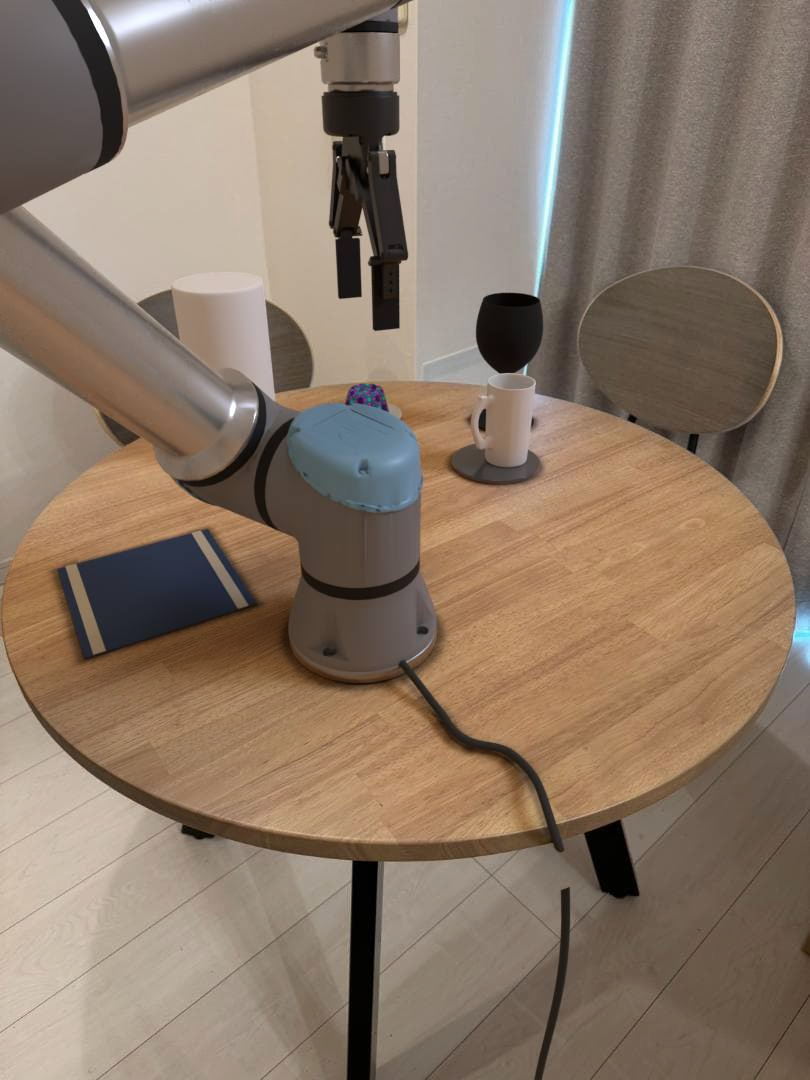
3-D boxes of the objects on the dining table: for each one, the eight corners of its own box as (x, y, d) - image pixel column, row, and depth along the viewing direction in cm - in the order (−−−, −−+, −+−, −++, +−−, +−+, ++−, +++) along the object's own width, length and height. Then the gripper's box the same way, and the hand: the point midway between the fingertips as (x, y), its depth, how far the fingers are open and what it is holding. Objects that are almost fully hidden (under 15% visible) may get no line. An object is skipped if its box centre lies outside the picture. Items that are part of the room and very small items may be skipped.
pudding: (392, 436, 118) (392, 405, 115) (321, 429, 121) (319, 398, 118) (409, 408, 128) (409, 379, 125) (343, 402, 130) (342, 373, 128)
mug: (509, 445, 114) (516, 370, 107) (537, 461, 109) (546, 384, 102) (455, 460, 109) (458, 382, 103) (482, 478, 105) (487, 398, 98)
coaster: (555, 476, 106) (556, 472, 106) (473, 490, 103) (473, 486, 102) (514, 440, 117) (515, 436, 116) (438, 452, 113) (438, 449, 113)
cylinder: (211, 471, 108) (183, 297, 94) (189, 440, 117) (161, 277, 104) (291, 453, 113) (275, 285, 99) (264, 425, 122) (246, 267, 109)
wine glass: (466, 430, 120) (472, 306, 109) (476, 407, 128) (482, 289, 118) (530, 437, 118) (543, 310, 107) (536, 412, 126) (548, 293, 116)
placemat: (256, 604, 81) (256, 602, 81) (84, 659, 73) (83, 657, 73) (207, 530, 94) (207, 528, 94) (57, 570, 86) (57, 568, 86)
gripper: (293, 87, 80) (307, 288, 91) (360, 91, 60) (367, 348, 71) (360, 86, 82) (366, 283, 93) (445, 90, 62) (440, 340, 73)
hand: (366, 312), depth 82 cm, fingers open, 13 cm apart
